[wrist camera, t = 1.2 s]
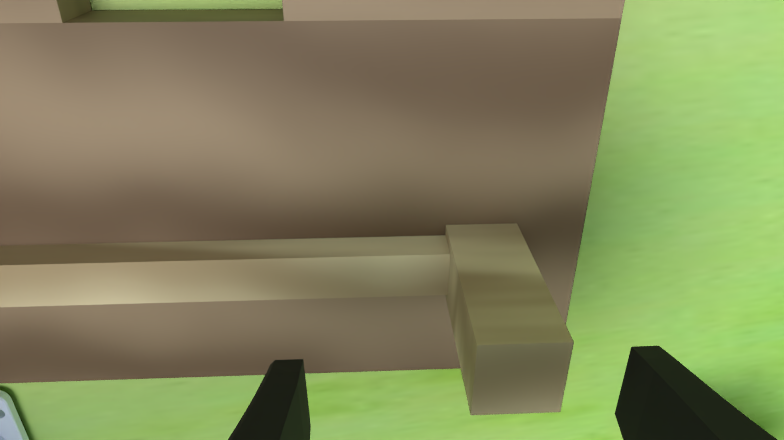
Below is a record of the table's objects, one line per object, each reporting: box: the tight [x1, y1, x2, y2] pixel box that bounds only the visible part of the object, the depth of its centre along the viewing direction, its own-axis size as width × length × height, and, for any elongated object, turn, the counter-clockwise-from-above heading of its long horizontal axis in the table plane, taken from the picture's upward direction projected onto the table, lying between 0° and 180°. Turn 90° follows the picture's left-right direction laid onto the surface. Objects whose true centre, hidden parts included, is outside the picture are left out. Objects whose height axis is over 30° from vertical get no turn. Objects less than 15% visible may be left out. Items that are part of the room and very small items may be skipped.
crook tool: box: [0, 223, 574, 415], centre depth 16 cm, size 7×19×6 cm, turn 90°
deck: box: [0, 0, 625, 383], centre depth 16 cm, size 20×33×8 cm, turn 90°
